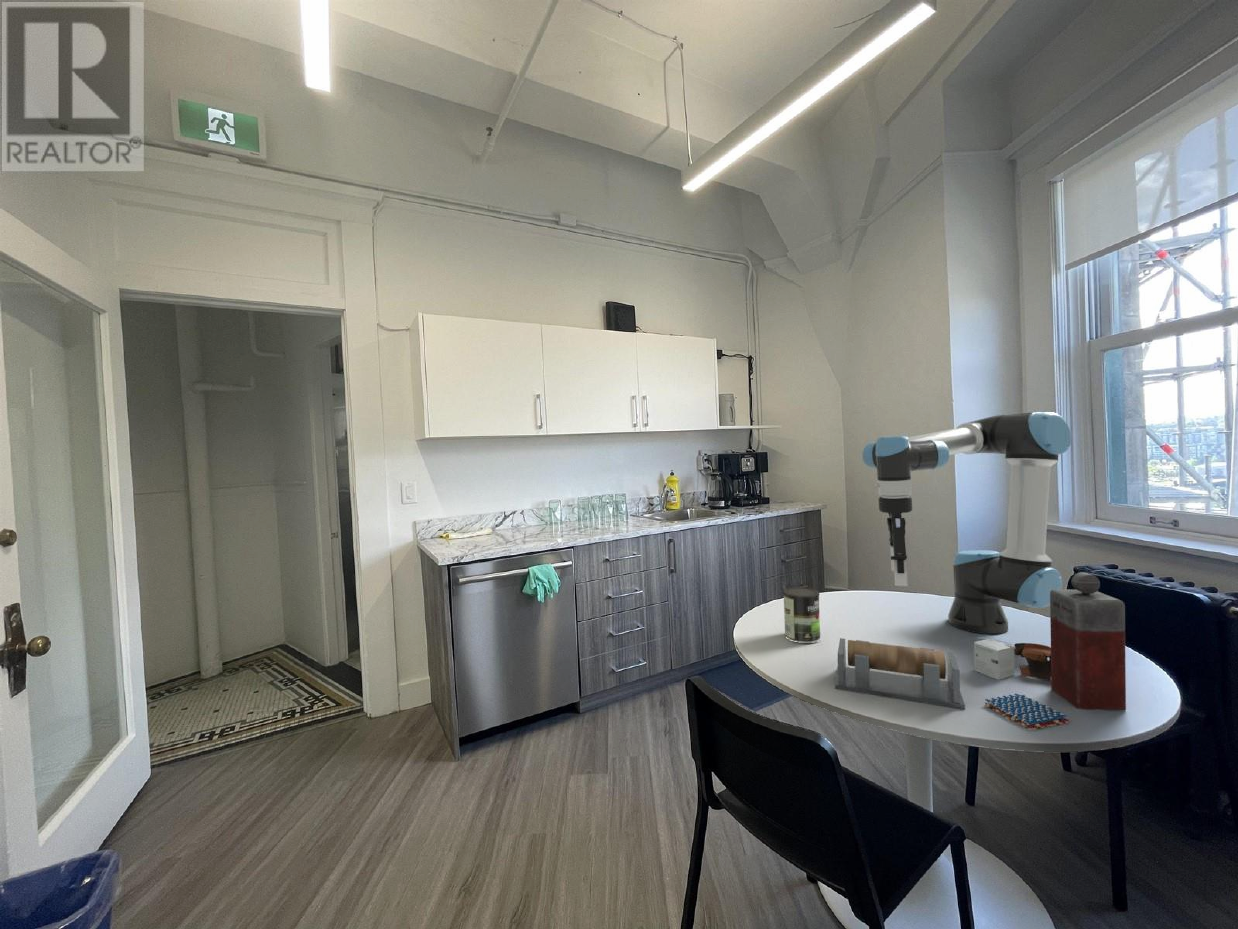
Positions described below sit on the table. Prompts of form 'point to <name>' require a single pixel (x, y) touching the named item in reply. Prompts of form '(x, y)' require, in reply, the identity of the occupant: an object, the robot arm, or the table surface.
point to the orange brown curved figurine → (1035, 660)
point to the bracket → (901, 681)
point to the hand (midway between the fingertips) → (899, 578)
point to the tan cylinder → (896, 657)
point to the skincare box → (994, 659)
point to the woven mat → (1026, 711)
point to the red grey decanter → (1088, 645)
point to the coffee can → (801, 614)
